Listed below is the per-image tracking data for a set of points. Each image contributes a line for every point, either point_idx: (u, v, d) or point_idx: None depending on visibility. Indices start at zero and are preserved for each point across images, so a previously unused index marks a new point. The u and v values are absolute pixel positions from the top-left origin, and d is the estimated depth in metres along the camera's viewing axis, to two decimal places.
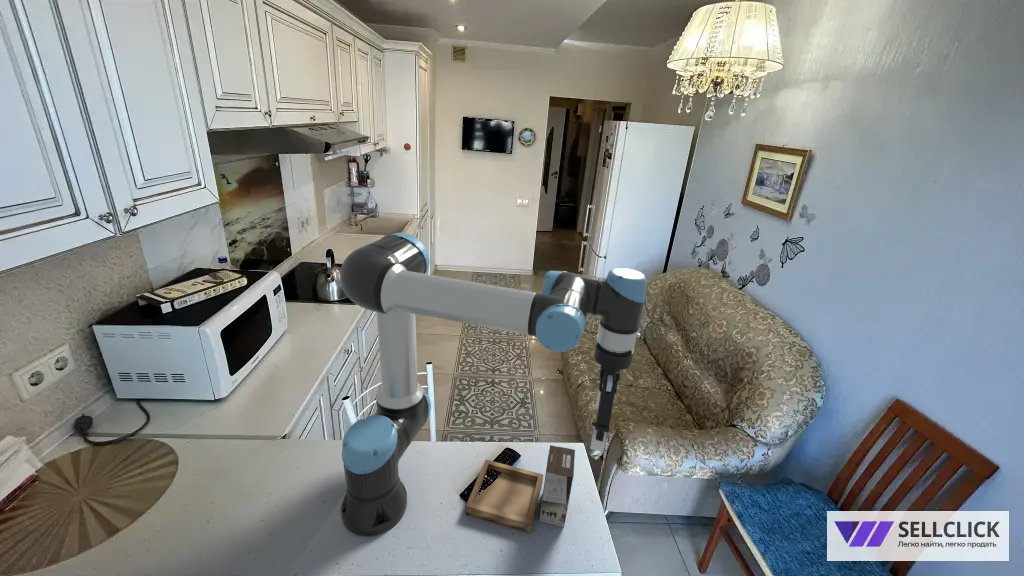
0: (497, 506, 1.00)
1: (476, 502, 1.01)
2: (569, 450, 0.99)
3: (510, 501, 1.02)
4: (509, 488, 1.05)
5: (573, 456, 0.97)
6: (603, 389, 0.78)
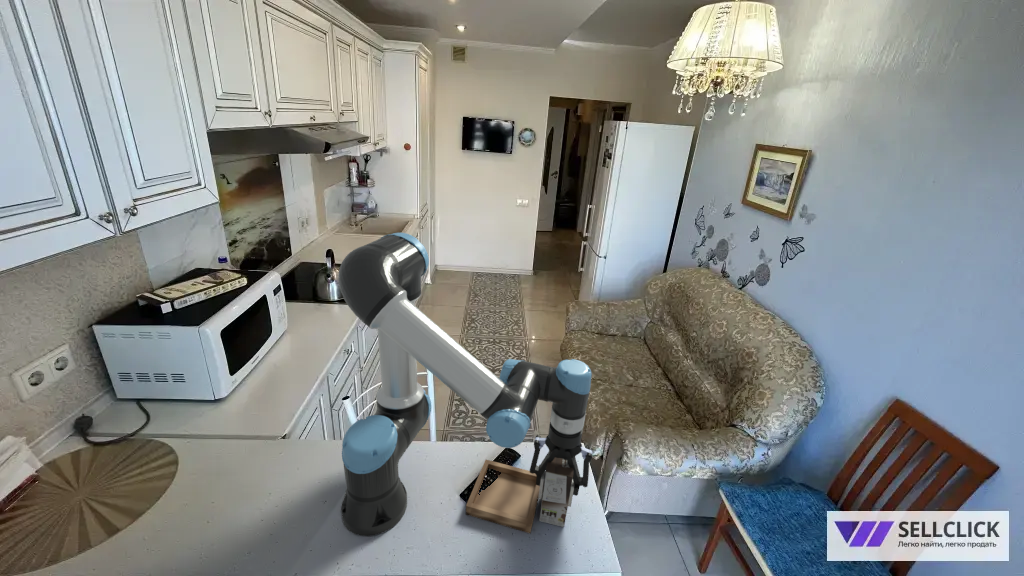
0: (497, 506, 1.00)
1: (476, 502, 1.01)
2: None
3: (510, 501, 1.02)
4: (509, 488, 1.05)
5: None
6: None
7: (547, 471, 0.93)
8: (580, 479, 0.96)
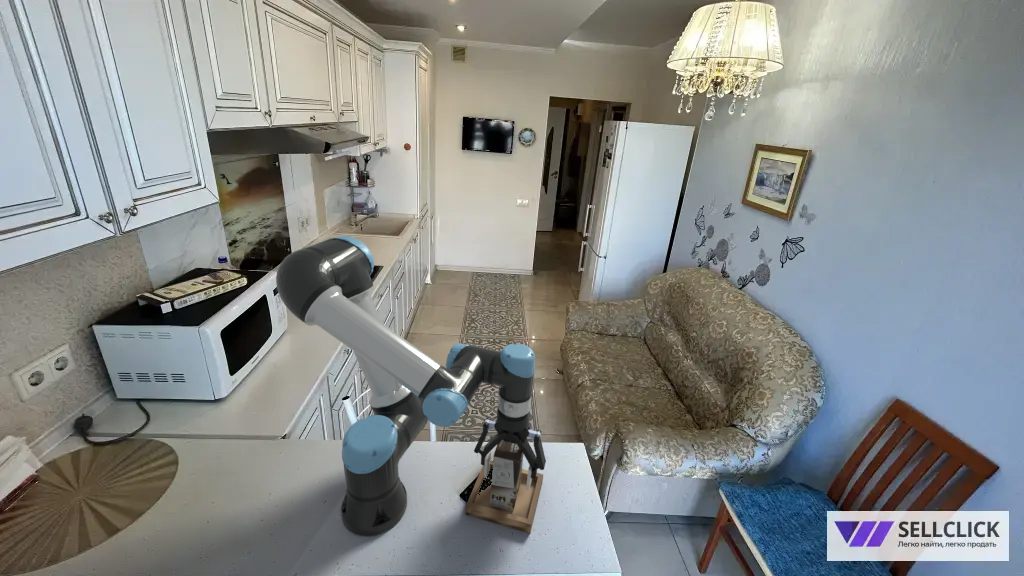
0: None
1: (476, 502, 1.01)
2: None
3: None
4: None
5: None
6: None
7: (494, 456, 0.94)
8: (537, 462, 0.97)
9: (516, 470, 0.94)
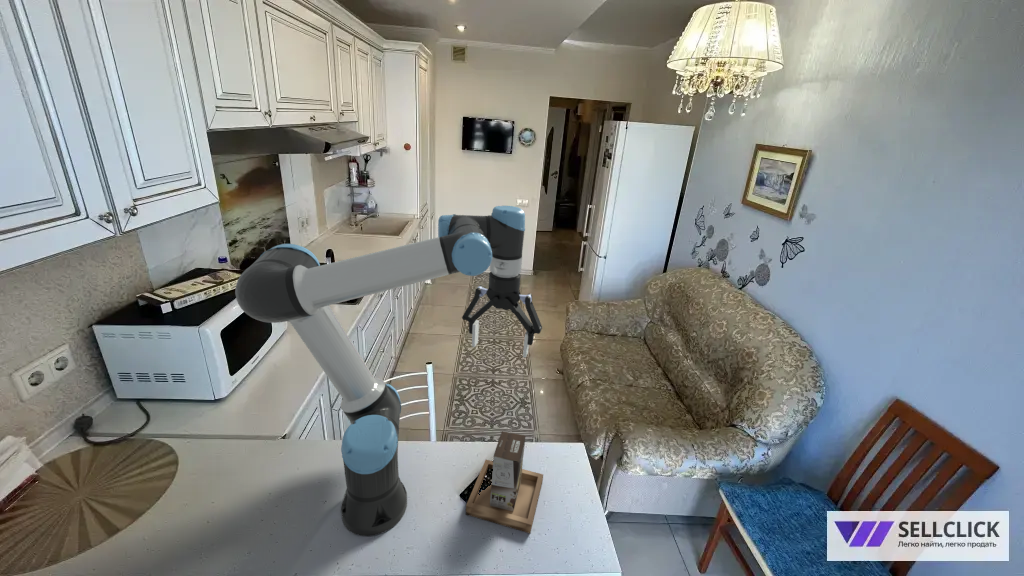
0: None
1: (476, 502, 1.01)
2: (519, 436, 1.00)
3: None
4: None
5: (523, 442, 0.99)
6: None
7: (495, 456, 0.94)
8: (534, 327, 0.99)
9: (516, 470, 0.94)
